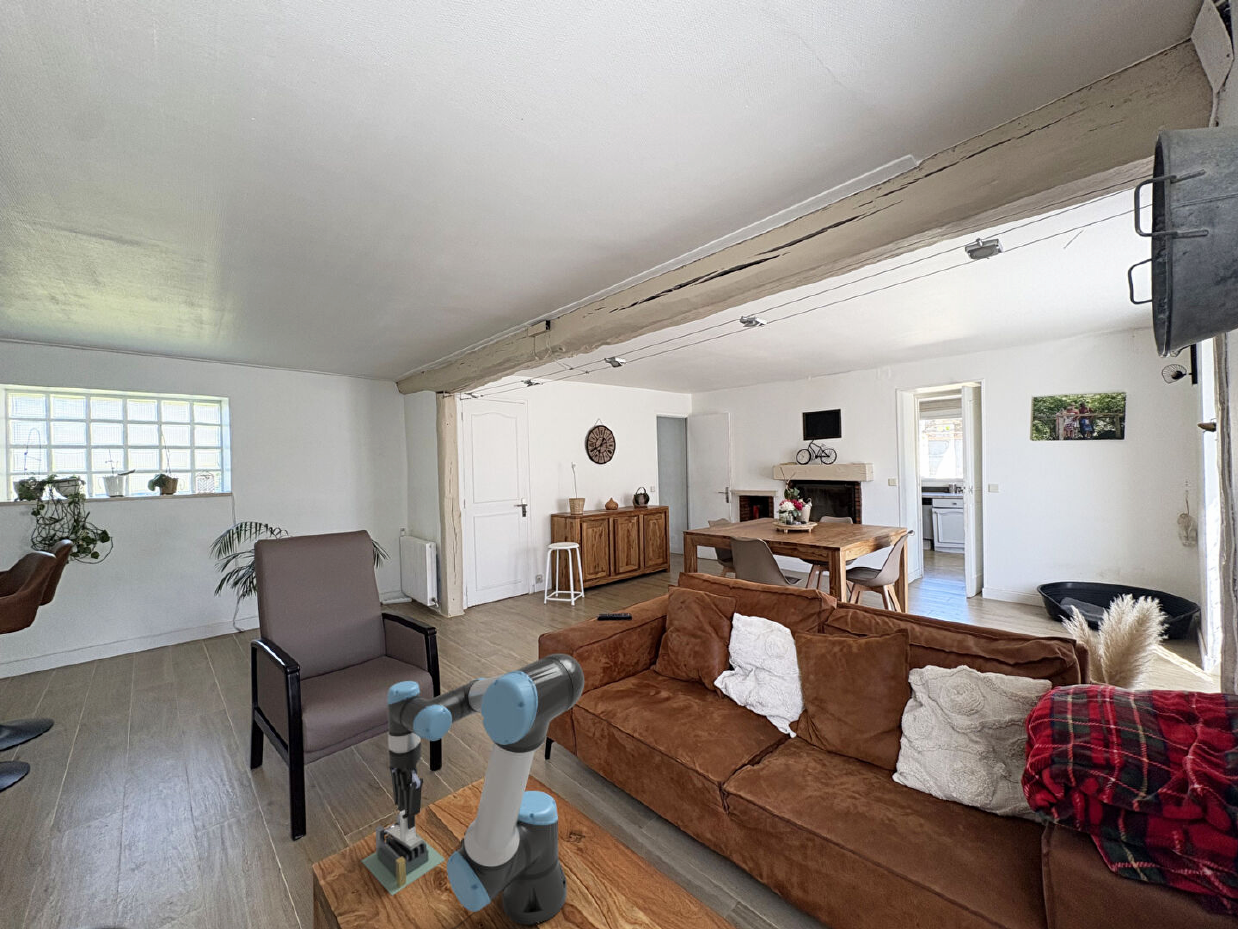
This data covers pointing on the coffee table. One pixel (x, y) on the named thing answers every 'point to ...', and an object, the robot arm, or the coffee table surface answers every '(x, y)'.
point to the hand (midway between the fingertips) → (408, 837)
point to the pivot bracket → (382, 833)
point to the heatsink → (401, 855)
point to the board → (390, 880)
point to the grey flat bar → (395, 834)
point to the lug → (400, 872)
